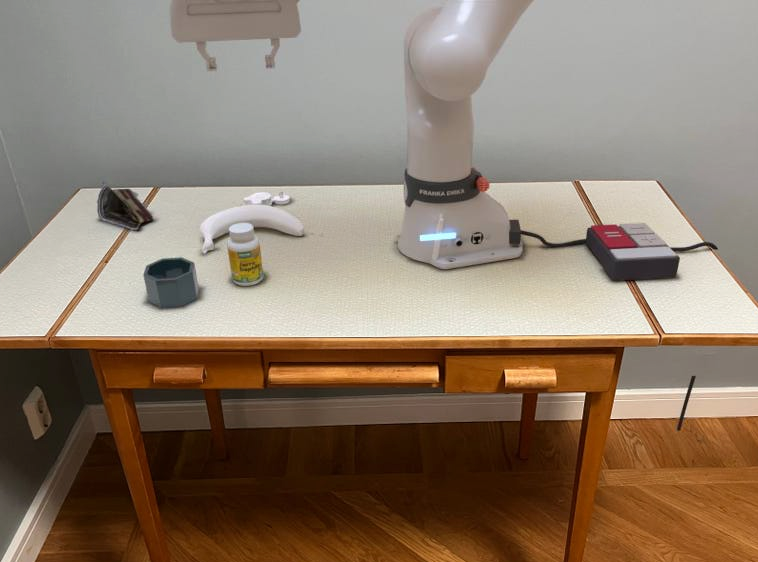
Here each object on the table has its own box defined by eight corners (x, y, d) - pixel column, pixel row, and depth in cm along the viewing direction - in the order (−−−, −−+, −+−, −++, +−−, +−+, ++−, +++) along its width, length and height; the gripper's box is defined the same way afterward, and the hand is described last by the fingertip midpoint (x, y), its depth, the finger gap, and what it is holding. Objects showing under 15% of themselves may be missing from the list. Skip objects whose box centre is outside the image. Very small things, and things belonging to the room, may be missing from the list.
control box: (646, 220, 134) (682, 253, 122) (642, 242, 137) (677, 277, 124) (587, 223, 134) (616, 257, 121) (584, 245, 136) (612, 281, 123)
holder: (200, 282, 126) (195, 256, 124) (196, 305, 120) (191, 278, 117) (153, 285, 126) (148, 259, 123) (147, 309, 120) (140, 281, 117)
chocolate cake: (168, 221, 149) (140, 170, 149) (141, 224, 143) (112, 170, 144) (143, 246, 154) (116, 196, 155) (116, 250, 148) (88, 198, 149)
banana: (309, 225, 145) (289, 259, 133) (217, 224, 148) (190, 257, 136) (306, 201, 142) (286, 234, 130) (212, 201, 145) (184, 233, 134)
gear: (272, 217, 148) (271, 207, 147) (234, 212, 151) (233, 202, 150) (292, 199, 156) (291, 189, 154) (255, 195, 158) (254, 185, 157)
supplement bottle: (255, 268, 130) (249, 217, 125) (269, 281, 126) (263, 229, 121) (227, 277, 128) (219, 225, 122) (240, 289, 124) (232, 237, 119)
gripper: (298, -32, 116) (304, 61, 124) (166, -27, 115) (181, 67, 123) (299, -26, 111) (305, 70, 119) (161, -21, 110) (176, 76, 118)
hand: (241, 68), depth 121 cm, fingers open, 8 cm apart
